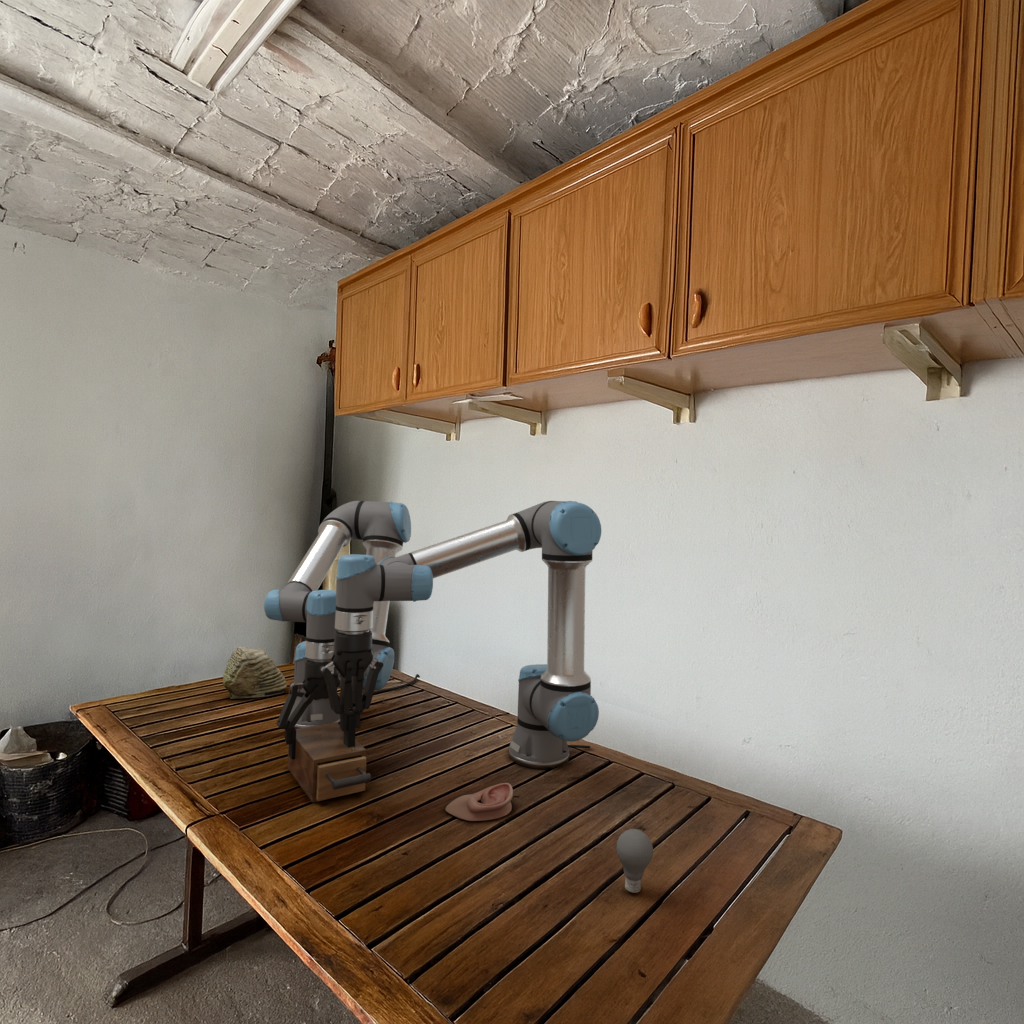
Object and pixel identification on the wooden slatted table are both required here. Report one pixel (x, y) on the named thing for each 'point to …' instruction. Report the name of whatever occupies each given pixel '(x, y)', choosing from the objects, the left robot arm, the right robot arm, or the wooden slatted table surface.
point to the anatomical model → (483, 804)
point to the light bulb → (634, 857)
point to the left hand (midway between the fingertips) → (318, 752)
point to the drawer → (341, 777)
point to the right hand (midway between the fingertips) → (349, 744)
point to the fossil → (252, 674)
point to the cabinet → (318, 753)
